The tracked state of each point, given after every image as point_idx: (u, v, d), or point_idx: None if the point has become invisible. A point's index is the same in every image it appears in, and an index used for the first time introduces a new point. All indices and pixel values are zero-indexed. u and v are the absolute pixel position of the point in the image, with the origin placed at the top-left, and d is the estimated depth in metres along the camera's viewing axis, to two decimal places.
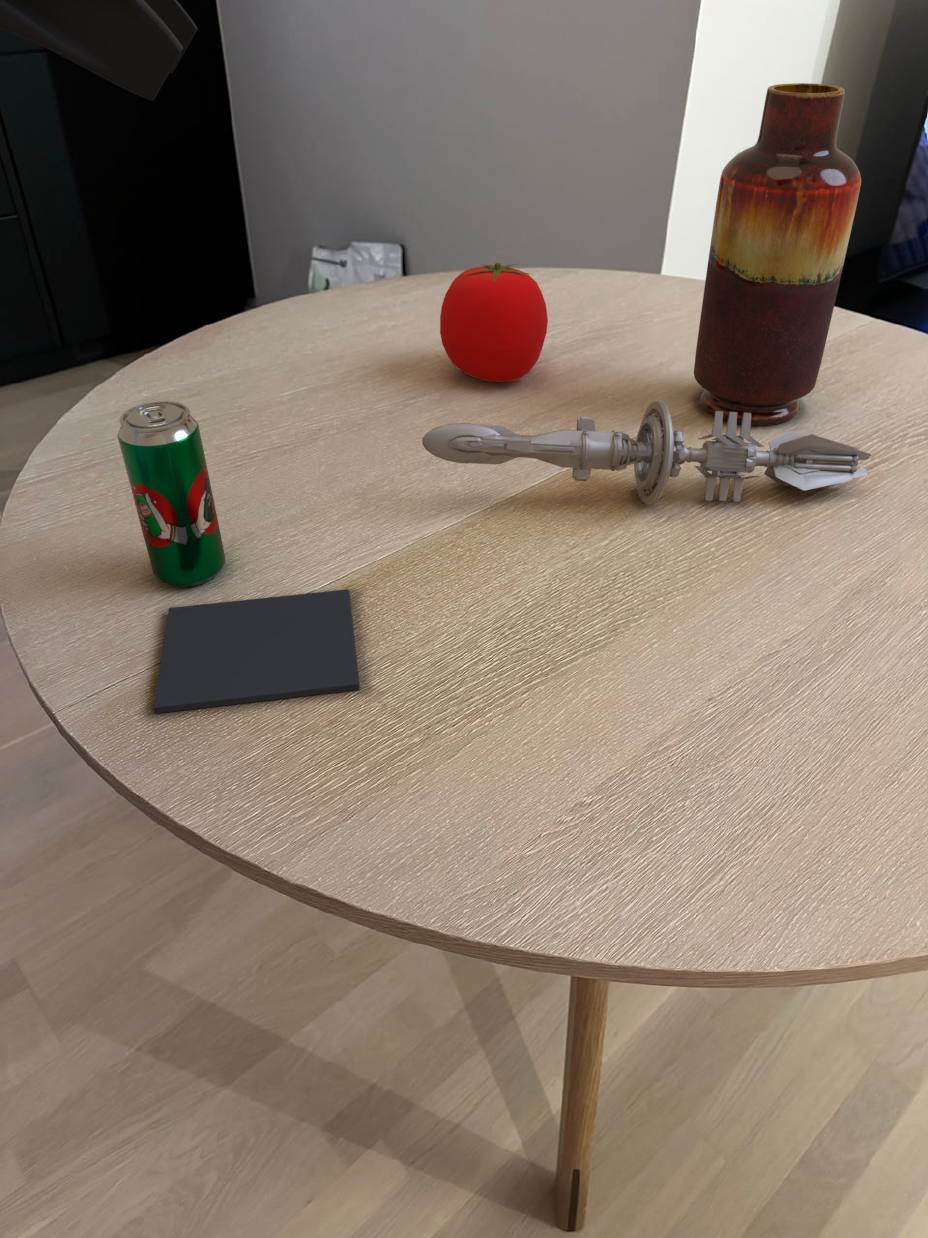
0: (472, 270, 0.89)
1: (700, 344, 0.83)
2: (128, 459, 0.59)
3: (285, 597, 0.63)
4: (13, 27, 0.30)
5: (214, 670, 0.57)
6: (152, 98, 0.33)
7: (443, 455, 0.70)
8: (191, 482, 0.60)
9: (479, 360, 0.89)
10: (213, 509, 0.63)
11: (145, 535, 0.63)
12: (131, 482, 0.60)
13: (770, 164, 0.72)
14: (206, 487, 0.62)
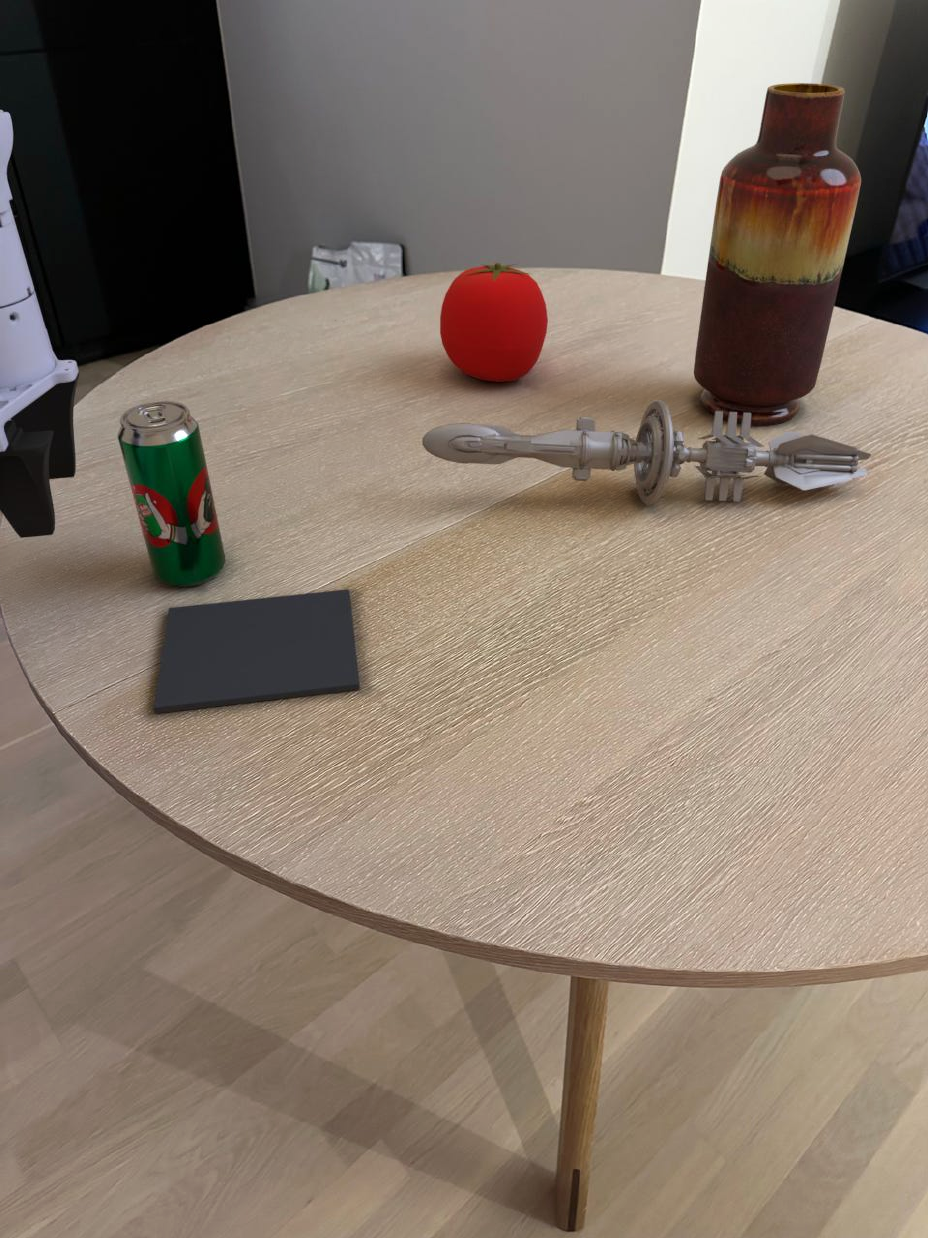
0: (472, 270, 0.89)
1: (700, 344, 0.83)
2: (128, 459, 0.59)
3: (285, 597, 0.63)
4: None
5: (214, 670, 0.57)
6: (20, 536, 0.58)
7: (443, 455, 0.70)
8: (191, 482, 0.60)
9: (479, 360, 0.89)
10: (213, 509, 0.63)
11: (145, 535, 0.63)
12: (131, 482, 0.60)
13: (770, 164, 0.72)
14: (206, 487, 0.62)
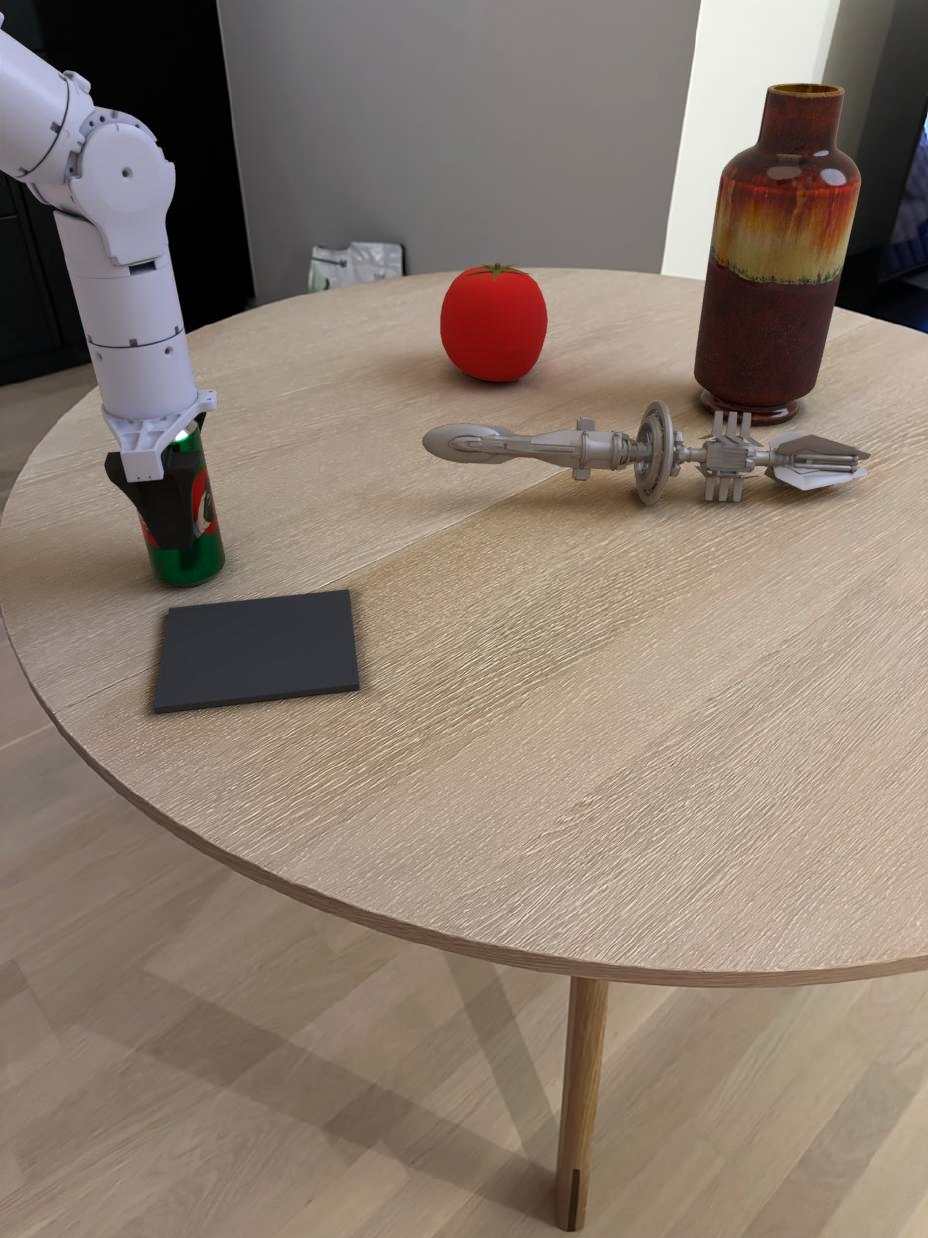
0: (472, 270, 0.89)
1: (700, 344, 0.83)
2: None
3: (285, 597, 0.63)
4: (133, 500, 0.58)
5: (214, 670, 0.57)
6: (161, 549, 0.61)
7: (443, 455, 0.70)
8: None
9: (479, 360, 0.89)
10: (213, 509, 0.63)
11: (145, 535, 0.63)
12: None
13: (770, 164, 0.72)
14: (206, 487, 0.62)
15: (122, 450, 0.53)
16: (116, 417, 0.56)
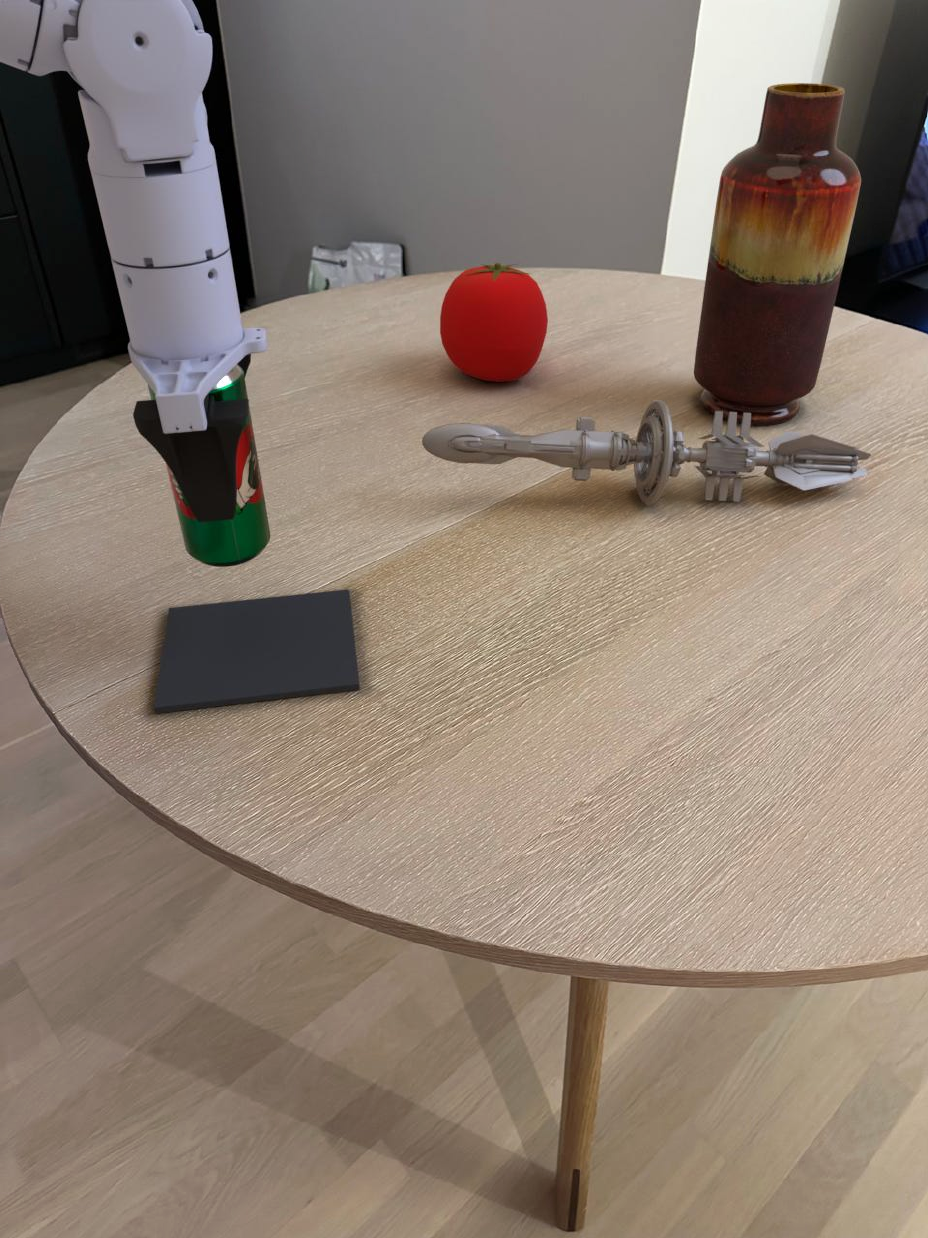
0: (472, 270, 0.89)
1: (700, 344, 0.83)
2: None
3: (285, 597, 0.63)
4: (167, 460, 0.48)
5: (214, 670, 0.57)
6: (198, 521, 0.51)
7: (443, 455, 0.70)
8: None
9: (479, 360, 0.89)
10: (258, 474, 0.53)
11: (178, 504, 0.53)
12: None
13: (770, 164, 0.72)
14: (252, 446, 0.52)
15: (158, 393, 0.43)
16: (147, 357, 0.46)
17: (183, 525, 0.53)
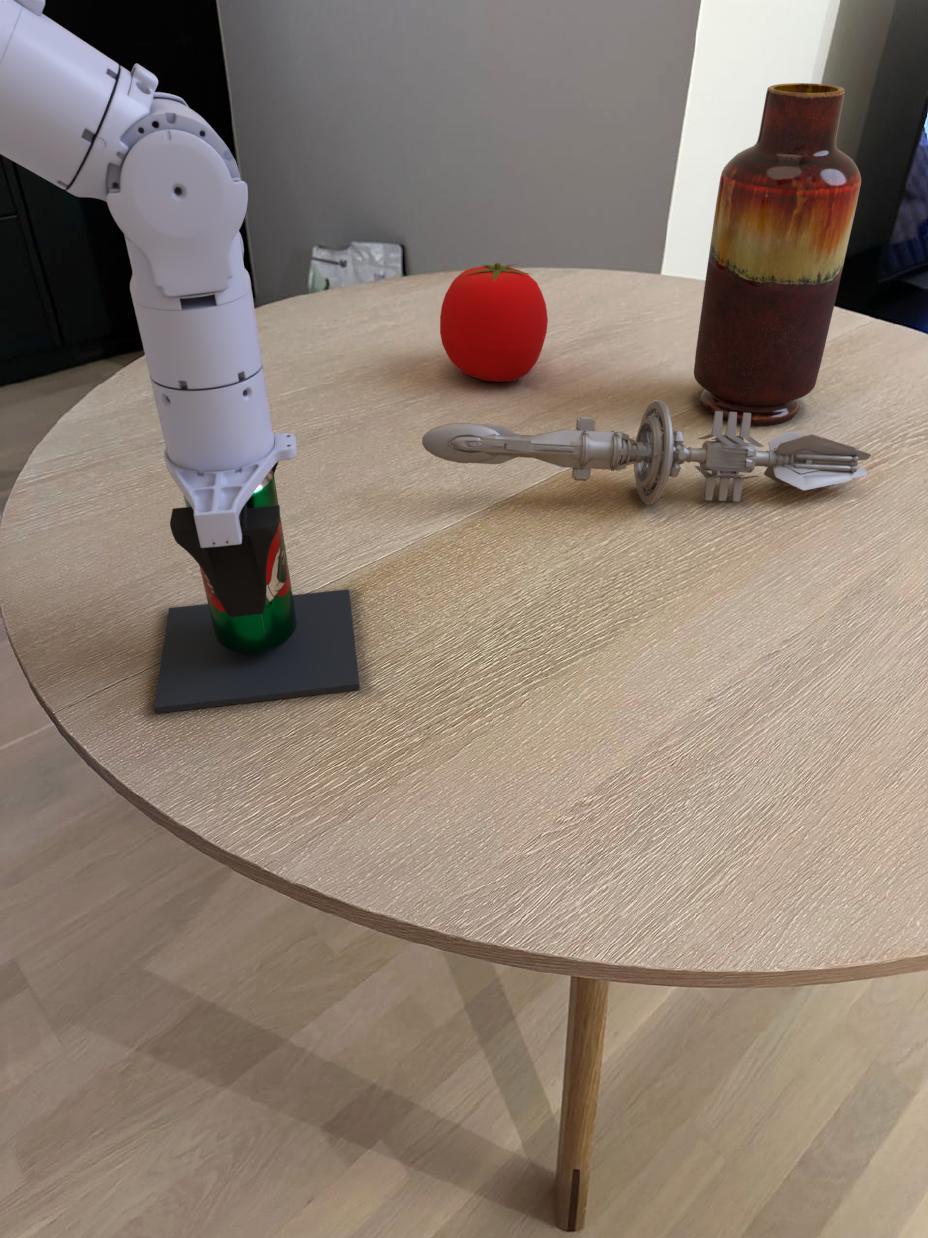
0: (472, 270, 0.89)
1: (700, 344, 0.83)
2: None
3: None
4: (201, 563, 0.50)
5: (214, 670, 0.57)
6: (229, 616, 0.53)
7: (443, 455, 0.70)
8: None
9: (479, 360, 0.89)
10: (286, 567, 0.55)
11: (209, 598, 0.55)
12: None
13: (770, 164, 0.72)
14: (281, 543, 0.54)
15: (196, 511, 0.45)
16: (183, 468, 0.48)
17: (214, 616, 0.55)
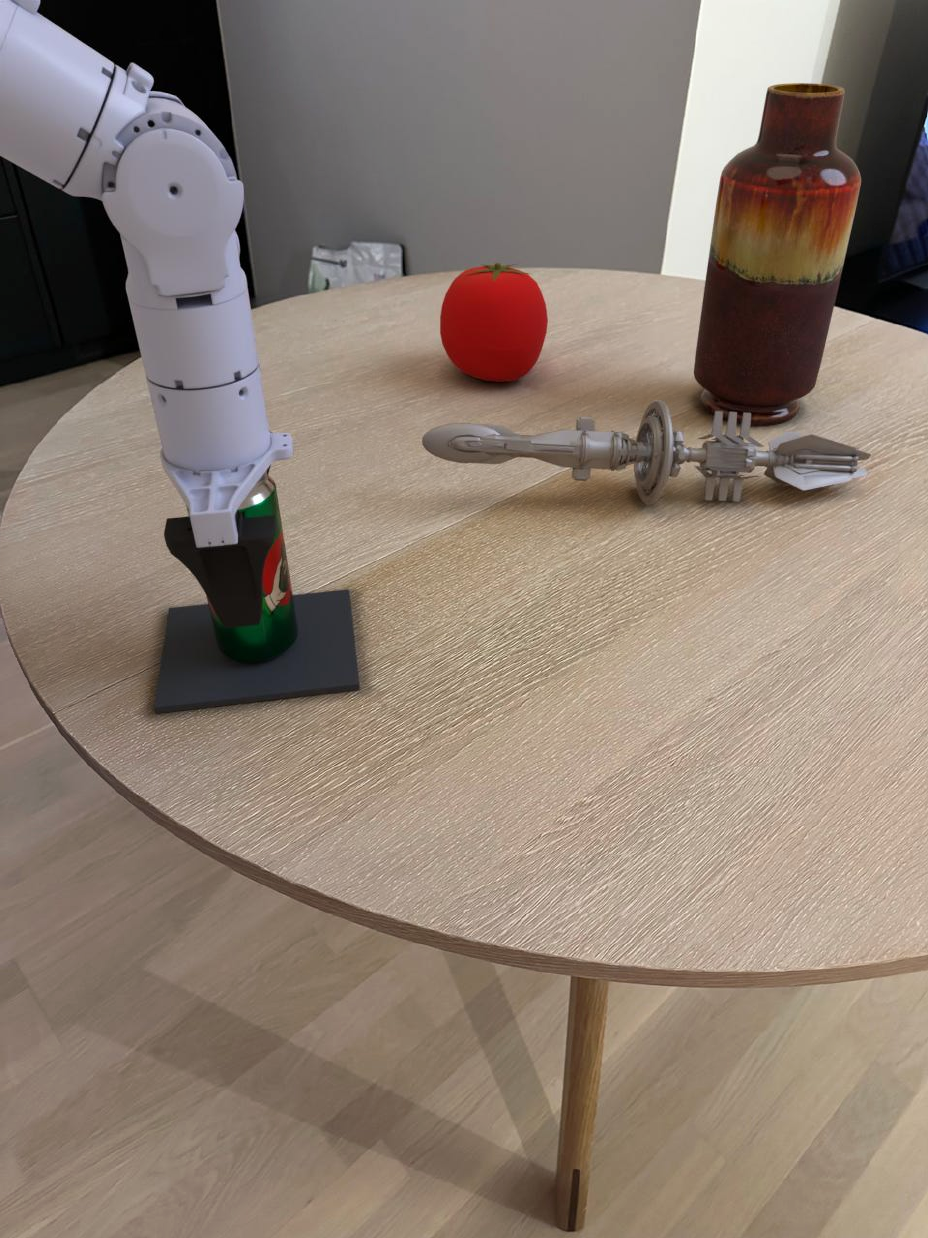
0: (472, 270, 0.89)
1: (700, 344, 0.83)
2: None
3: None
4: (196, 574, 0.49)
5: (214, 670, 0.57)
6: (225, 627, 0.52)
7: (443, 455, 0.70)
8: None
9: (479, 360, 0.89)
10: (288, 577, 0.56)
11: (212, 607, 0.55)
12: None
13: (770, 164, 0.72)
14: (283, 553, 0.54)
15: (192, 511, 0.45)
16: (179, 468, 0.48)
17: (216, 625, 0.56)
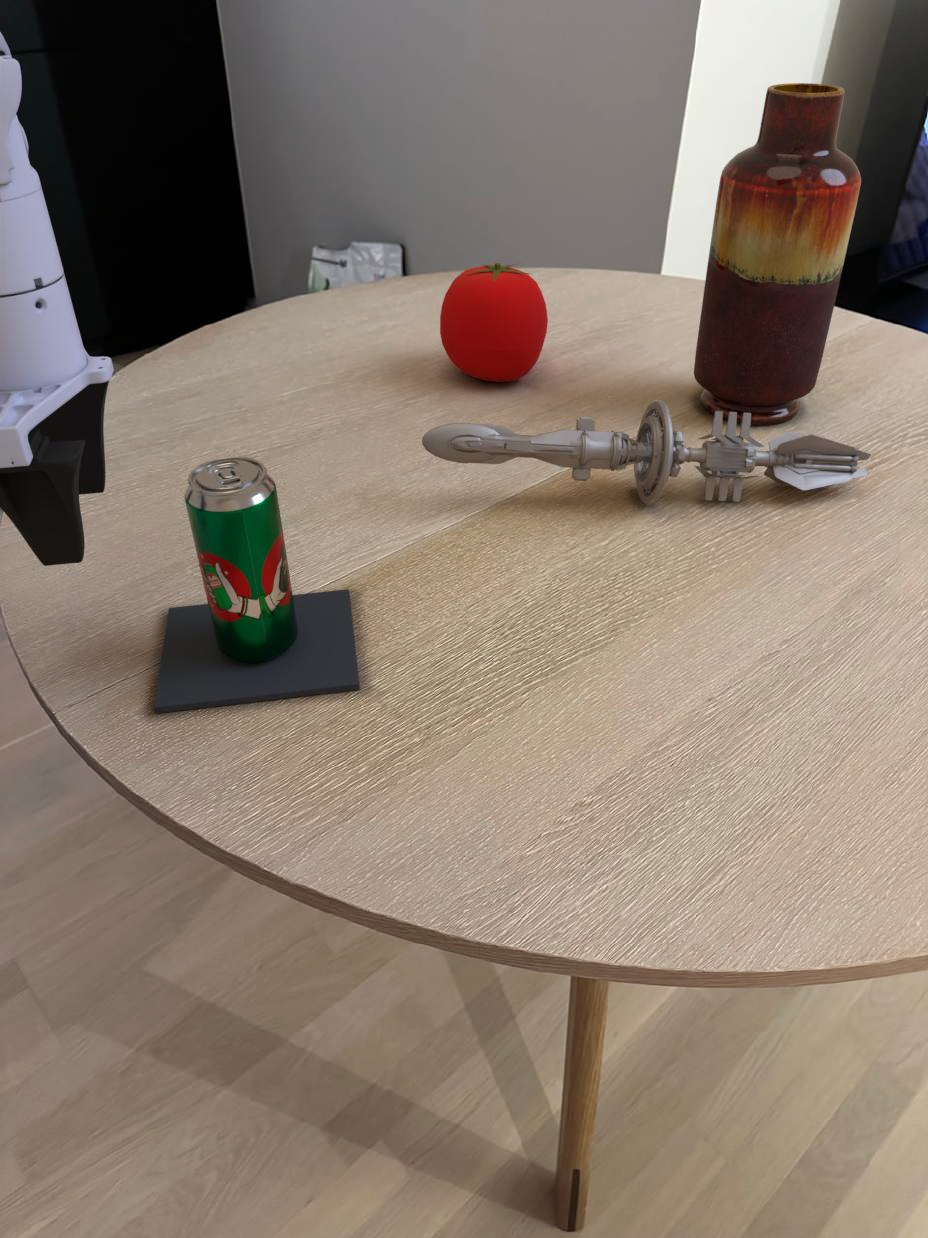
0: (472, 270, 0.89)
1: (700, 344, 0.83)
2: (197, 526, 0.51)
3: None
4: None
5: (214, 670, 0.57)
6: (43, 564, 0.49)
7: (443, 455, 0.70)
8: (268, 550, 0.53)
9: (479, 360, 0.89)
10: (288, 577, 0.56)
11: (212, 607, 0.55)
12: (199, 550, 0.53)
13: (770, 164, 0.72)
14: (283, 553, 0.54)
15: None
16: None
17: (216, 625, 0.56)
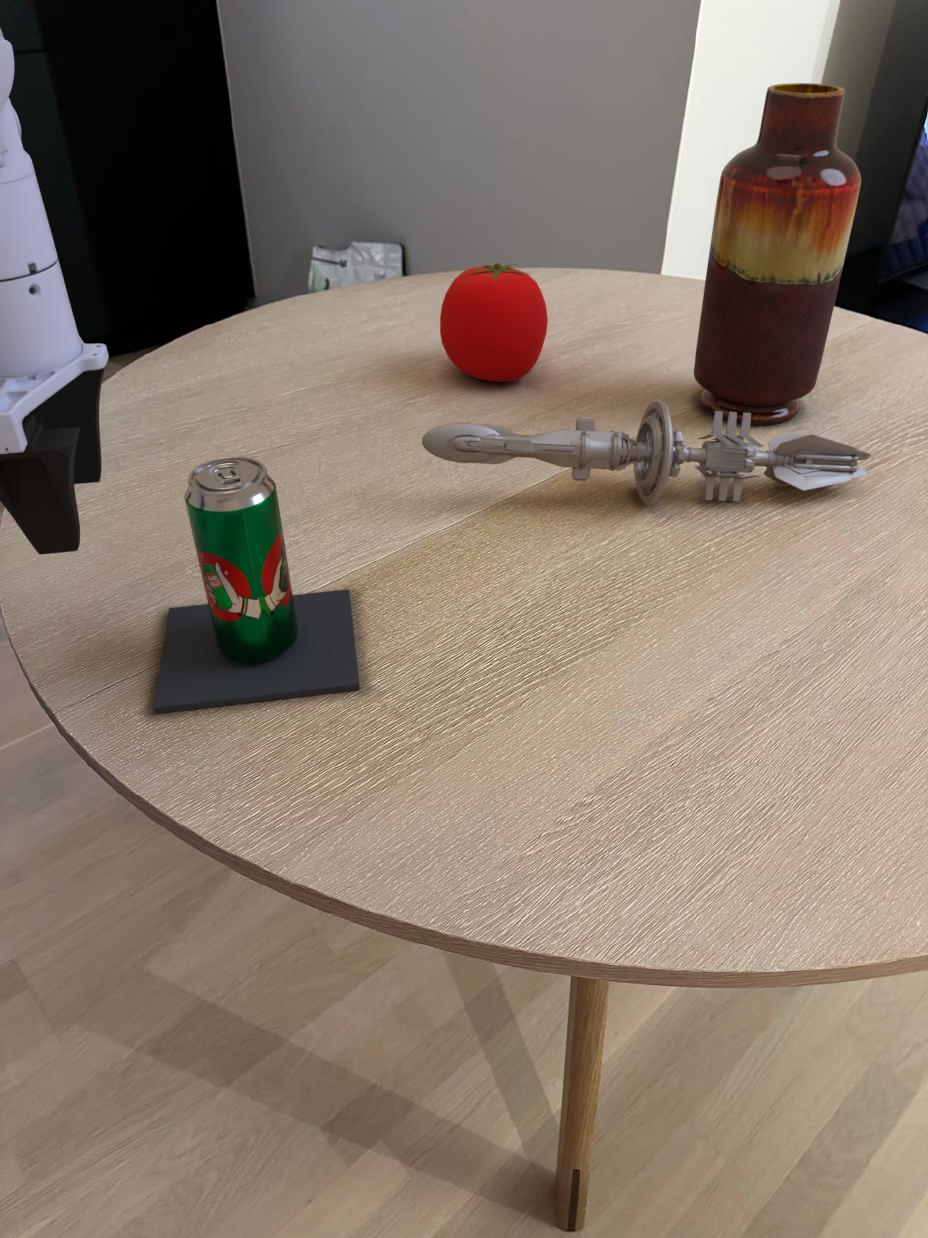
0: (472, 270, 0.89)
1: (700, 344, 0.83)
2: (197, 526, 0.51)
3: None
4: None
5: (214, 670, 0.57)
6: (39, 553, 0.49)
7: (443, 455, 0.70)
8: (268, 550, 0.53)
9: (479, 360, 0.89)
10: (288, 577, 0.56)
11: (212, 607, 0.55)
12: (199, 550, 0.53)
13: (770, 164, 0.72)
14: (283, 553, 0.54)
15: None
16: None
17: (216, 625, 0.56)
